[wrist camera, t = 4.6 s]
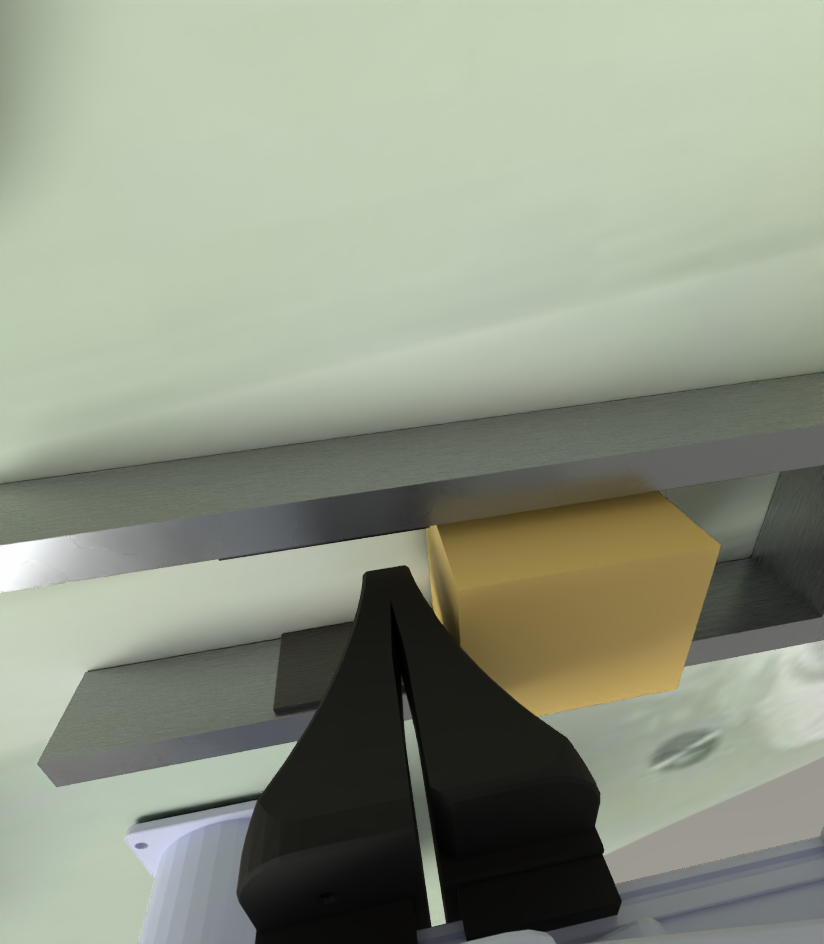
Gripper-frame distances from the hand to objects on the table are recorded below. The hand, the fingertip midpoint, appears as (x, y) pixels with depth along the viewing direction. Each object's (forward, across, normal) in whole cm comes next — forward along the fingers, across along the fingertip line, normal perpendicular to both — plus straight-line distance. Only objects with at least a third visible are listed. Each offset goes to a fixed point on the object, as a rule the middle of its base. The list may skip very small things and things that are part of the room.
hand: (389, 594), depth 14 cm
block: (+2, -4, 0) cm, 5 cm away
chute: (+2, -2, 0) cm, 3 cm away
